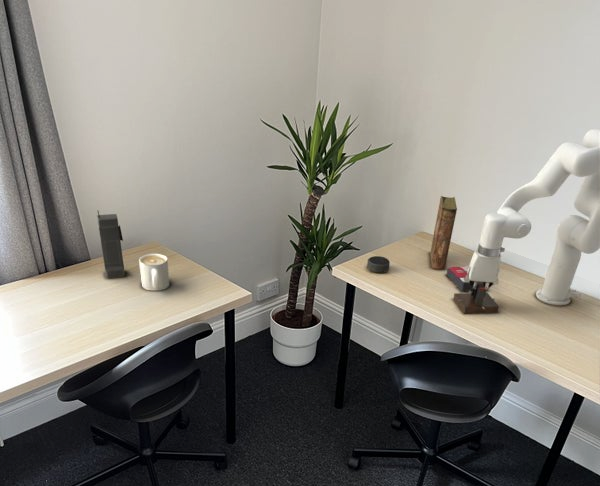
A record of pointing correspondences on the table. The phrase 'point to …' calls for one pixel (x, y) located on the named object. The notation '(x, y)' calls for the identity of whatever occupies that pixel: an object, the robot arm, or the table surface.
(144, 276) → the coffee mug
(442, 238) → the book
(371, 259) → the smart speaker
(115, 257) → the portable radio
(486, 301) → the stand
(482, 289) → the grey rectangular slab
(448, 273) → the red and grey box
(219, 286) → the table surface
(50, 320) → the table surface
